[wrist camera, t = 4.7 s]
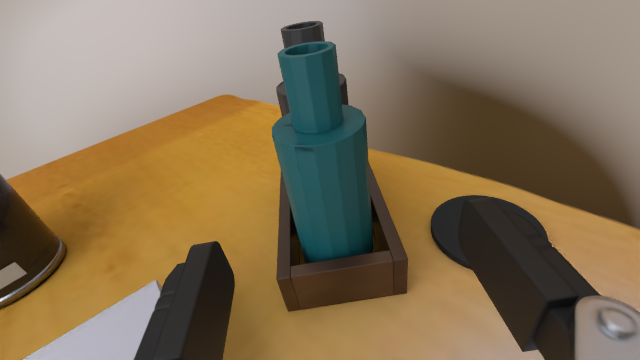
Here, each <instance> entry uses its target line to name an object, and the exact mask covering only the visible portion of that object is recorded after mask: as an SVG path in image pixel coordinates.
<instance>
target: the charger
mask: <svg viewBox="0 0 640 360" xmlns="http://www.w3.org/2000/svg"><path fill="white" fill-rule="evenodd" d="M161 290H162V286H161V285H160V284H159V282H158V281H157V280H154V281H153V282H151V283H149V284H148V285H146V286H144V287H143V288H141V289H139V290H138V291H136V292H134V293H133V294H131V295H129V296H128V297H126V298H124V299H122V300H121V301H119V302H117V303H116V304H114V305H112V306H111V307H109V308H107V309H106V310H104V311H102V312H101V313H99V314H97V315H96V316H94V317H92V318H91V319H89V320H87V321H86V322H84V323H82V324H81V325H79V326H77V327H75V328H74V329H72V330H70V331H69V332H67V333H65V334H64V335H62V336H60V337H59V338H57V339H55V340H54V341H52V342H50V343H49V344H47V345H45V346H44V347H42V348H40V349H39V350H37V351H35V352H34V353H32V354H30V355H28V356H27V357H25V358H23V359H22V360H134V358H135V355H136V353H137V350H138V347H139V345H140V342H141V340H142V337H143V335H144V332H145V330H146V327H147V325H148V322H149V320H150V317H151V315H152V312H153V311H155V308H154V307H155V305H156V302H157V300H158V298H160V292H161Z"/></svg>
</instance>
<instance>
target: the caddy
mask: <svg viewBox="0 0 640 360" xmlns="http://www.w3.org/2000/svg"><path fill="white" fill-rule="evenodd" d="M368 164H369V162H368ZM369 181H370V198H371V214H372V228H373V231H374V234H375V237H376V241H377V244H378V247H379V250H380V252H376V253H370V254H364V255H357V256H351V257H345V258H339V259H333V260H326V261H320V262H314V263H308V264H302V265H299V246H298V233H297V229H296V225H295V221H294V218H293V214H292V210H291V206H290V202H289V198H288V194H287V191H286V187H285V183H284V179H283V175H282V171H281V182H280V207H279V232H278V257H277V282H278V285H279V288H280V290H281V293H282V296H283V299H284V301H285V304H286V307H287V310H288V311H295V310H300V309H301V310H302V309H308V308H314V307H321V306H327V305H333V304H339V303H346V302H352V301H358V300H364V299H371V298H377V297H383V296H390V295H396V294H402V293H407V267H408V258H407V255H406V253H405V250H404V248H403V245H402V243H401V241H400V238H399V236H398V233H397V231H396V228H395V226H394V223H393V221H392V218H391V216H390V214H389V211H388V209H387V206H386V204H385V201H384V199H383V196H382V194H381V191H380V189H379V187H378V184H377V182H376V179H375V177H374V174H373V172H372V169H371V167H370V164H369Z"/></svg>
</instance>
